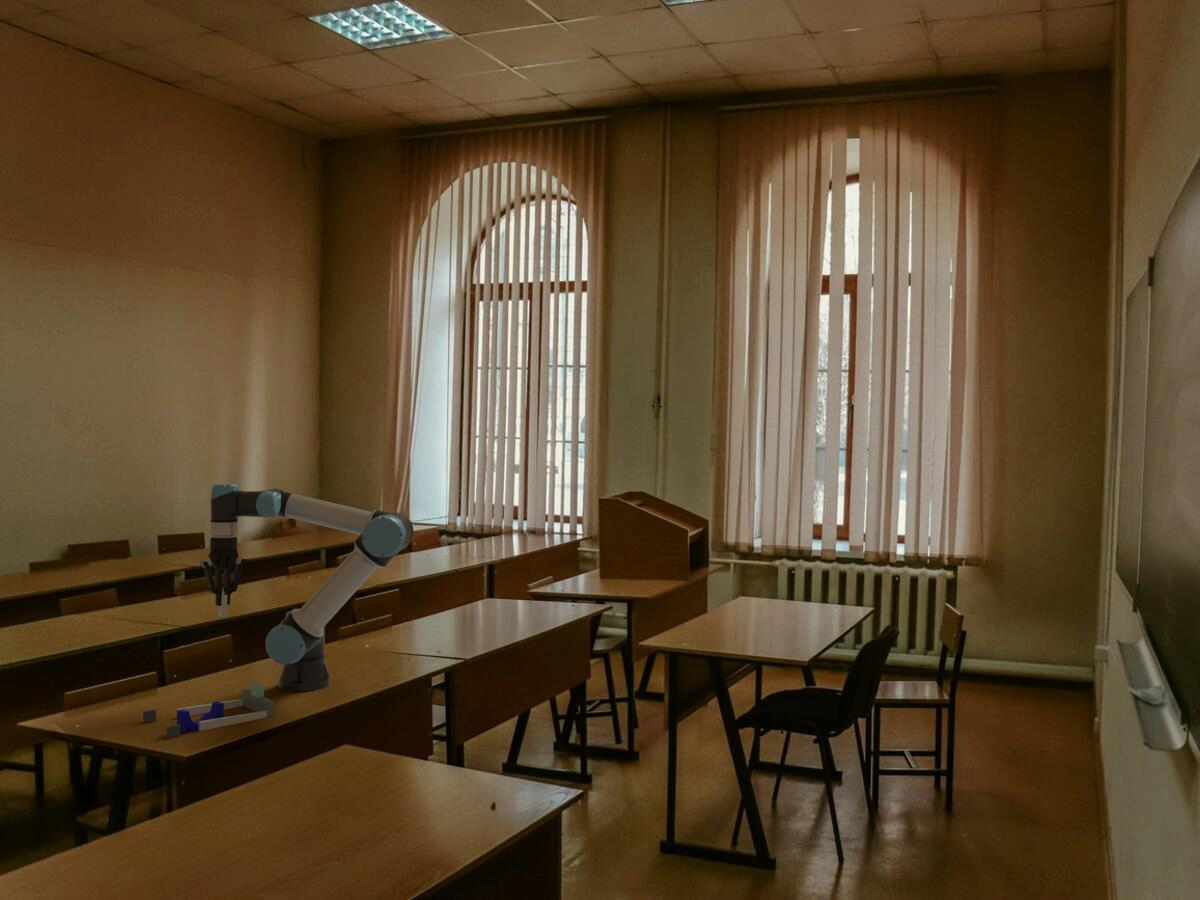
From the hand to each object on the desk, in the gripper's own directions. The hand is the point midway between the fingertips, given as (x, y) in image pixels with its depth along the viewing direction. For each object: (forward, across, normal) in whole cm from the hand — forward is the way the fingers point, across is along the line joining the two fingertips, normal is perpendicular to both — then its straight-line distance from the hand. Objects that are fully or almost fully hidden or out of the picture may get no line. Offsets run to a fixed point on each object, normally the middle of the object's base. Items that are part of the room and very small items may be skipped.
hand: (222, 616), depth 301 cm
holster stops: (+24, +24, +21) cm, 40 cm away
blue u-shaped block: (+25, +16, +26) cm, 39 cm away
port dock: (+24, +8, +21) cm, 33 cm away
